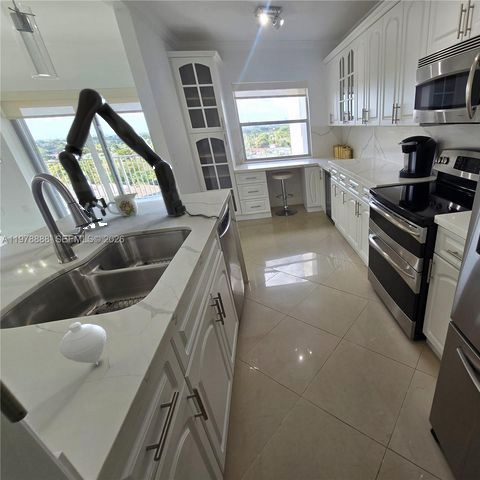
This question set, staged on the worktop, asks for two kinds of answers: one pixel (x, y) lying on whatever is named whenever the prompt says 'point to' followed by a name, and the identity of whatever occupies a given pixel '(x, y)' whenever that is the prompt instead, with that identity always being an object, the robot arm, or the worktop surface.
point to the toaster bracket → (94, 223)
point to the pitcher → (125, 205)
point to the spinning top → (83, 343)
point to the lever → (94, 217)
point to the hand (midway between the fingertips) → (95, 218)
